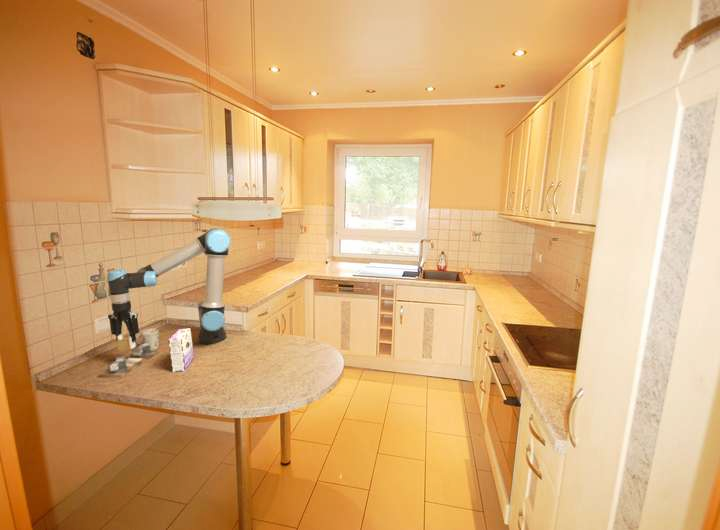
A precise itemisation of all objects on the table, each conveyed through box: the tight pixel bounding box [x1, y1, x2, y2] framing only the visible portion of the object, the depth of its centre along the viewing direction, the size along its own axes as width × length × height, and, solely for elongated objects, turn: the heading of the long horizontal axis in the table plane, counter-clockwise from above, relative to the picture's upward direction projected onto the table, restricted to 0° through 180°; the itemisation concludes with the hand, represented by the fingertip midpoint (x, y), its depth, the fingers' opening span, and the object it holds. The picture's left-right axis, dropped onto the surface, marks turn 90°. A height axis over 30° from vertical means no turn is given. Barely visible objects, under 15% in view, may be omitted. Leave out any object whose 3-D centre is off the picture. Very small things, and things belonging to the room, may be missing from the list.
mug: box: [136, 328, 160, 351], centre depth 185 cm, size 8×13×10 cm, turn 89°
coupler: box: [116, 335, 138, 352], centre depth 165 cm, size 6×5×5 cm
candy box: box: [168, 327, 195, 373], centre depth 163 cm, size 14×6×16 cm, turn 9°
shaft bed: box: [97, 342, 159, 378], centre depth 167 cm, size 26×11×6 cm, turn 177°
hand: (127, 347), depth 166 cm, fingers closed on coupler, 5 cm apart
